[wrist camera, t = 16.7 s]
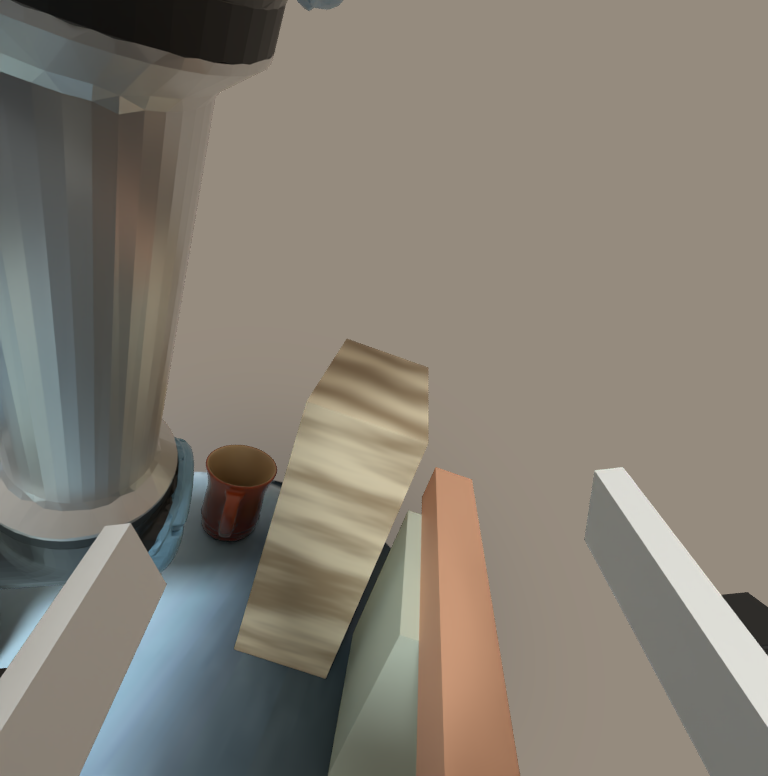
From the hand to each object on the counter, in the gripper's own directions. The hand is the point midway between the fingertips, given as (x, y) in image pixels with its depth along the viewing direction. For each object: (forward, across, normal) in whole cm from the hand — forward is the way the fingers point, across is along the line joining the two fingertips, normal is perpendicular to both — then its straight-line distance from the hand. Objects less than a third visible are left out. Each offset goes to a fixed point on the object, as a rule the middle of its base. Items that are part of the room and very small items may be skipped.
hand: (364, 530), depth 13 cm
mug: (+32, -24, -33) cm, 52 cm away
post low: (+14, -5, -40) cm, 43 cm away
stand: (+25, -14, -37) cm, 47 cm away
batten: (+12, +3, -23) cm, 26 cm away
